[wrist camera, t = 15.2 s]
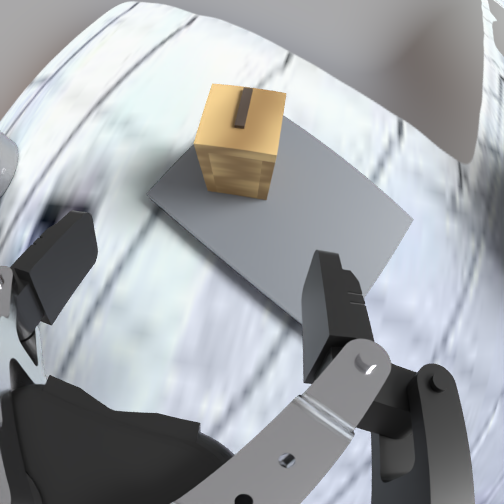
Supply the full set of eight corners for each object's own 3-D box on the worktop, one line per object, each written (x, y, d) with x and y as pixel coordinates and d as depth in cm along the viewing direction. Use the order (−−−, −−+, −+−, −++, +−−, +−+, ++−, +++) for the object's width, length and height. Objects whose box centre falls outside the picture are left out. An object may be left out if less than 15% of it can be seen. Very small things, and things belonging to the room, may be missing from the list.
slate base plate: (151, 199, 26) (146, 193, 24) (248, 102, 28) (249, 93, 26) (324, 343, 24) (329, 345, 23) (406, 223, 26) (413, 219, 25)
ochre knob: (207, 190, 25) (193, 141, 16) (219, 140, 25) (212, 80, 17) (266, 200, 25) (277, 152, 16) (274, 149, 25) (286, 90, 17)
